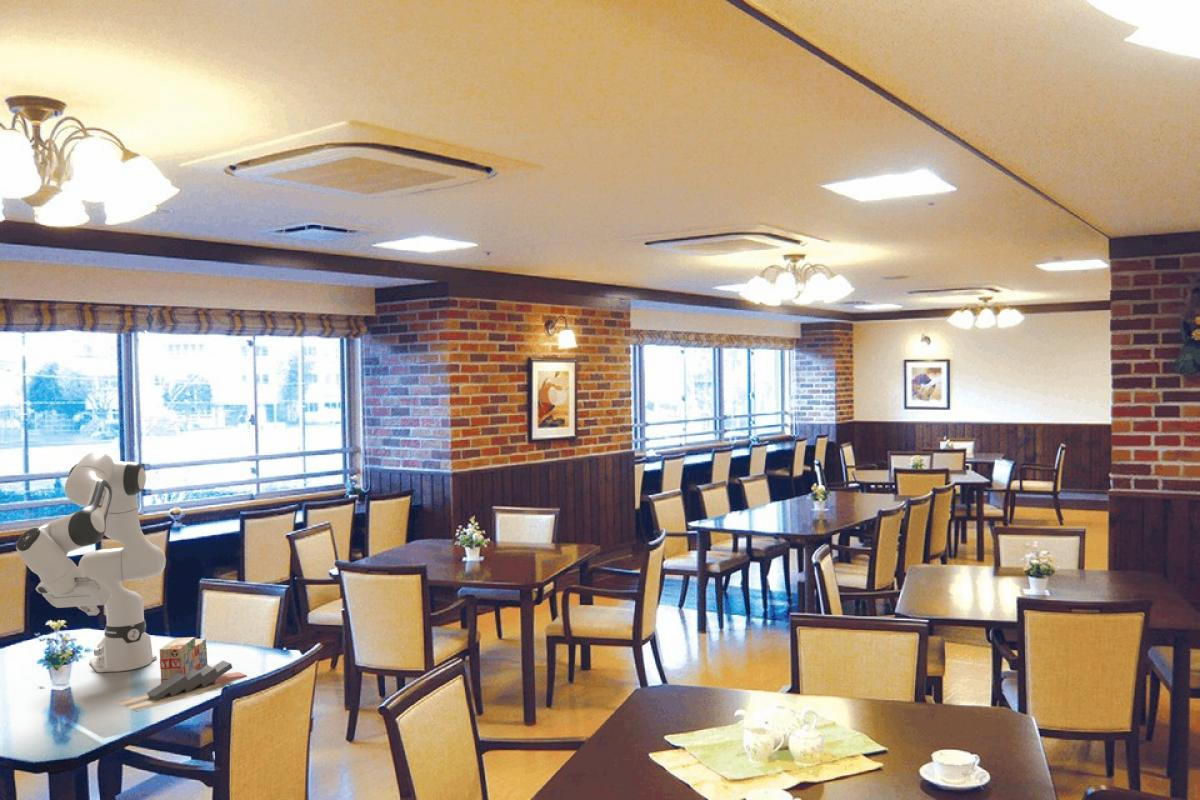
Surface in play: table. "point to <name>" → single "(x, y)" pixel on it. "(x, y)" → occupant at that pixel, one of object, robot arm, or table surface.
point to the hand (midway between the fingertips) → (94, 613)
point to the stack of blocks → (182, 656)
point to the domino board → (165, 698)
